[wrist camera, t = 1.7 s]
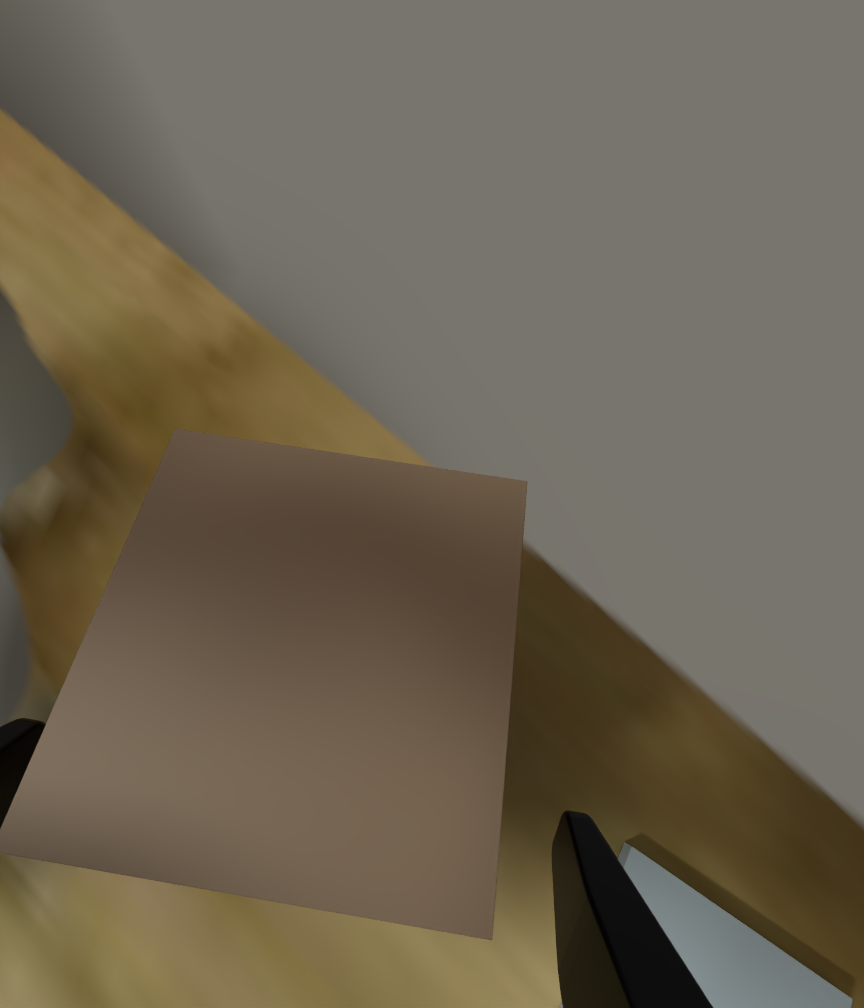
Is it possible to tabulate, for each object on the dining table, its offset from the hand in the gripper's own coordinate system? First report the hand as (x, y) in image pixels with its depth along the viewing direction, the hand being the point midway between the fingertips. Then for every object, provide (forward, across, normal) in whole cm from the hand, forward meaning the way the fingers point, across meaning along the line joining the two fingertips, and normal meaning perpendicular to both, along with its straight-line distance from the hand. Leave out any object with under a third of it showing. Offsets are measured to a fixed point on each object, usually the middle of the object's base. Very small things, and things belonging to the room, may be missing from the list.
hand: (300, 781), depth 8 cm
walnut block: (+8, 0, +5) cm, 10 cm away
